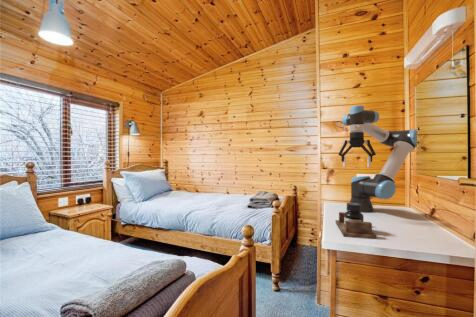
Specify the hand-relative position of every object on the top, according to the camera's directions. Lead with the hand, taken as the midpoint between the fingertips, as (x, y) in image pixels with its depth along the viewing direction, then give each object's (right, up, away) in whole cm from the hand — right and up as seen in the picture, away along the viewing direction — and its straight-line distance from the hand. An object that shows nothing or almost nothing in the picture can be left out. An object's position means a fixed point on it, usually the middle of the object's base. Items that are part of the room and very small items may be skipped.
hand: (356, 167), depth 141 cm
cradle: (-12, -31, -21) cm, 40 cm away
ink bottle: (-12, -30, -21) cm, 39 cm away
